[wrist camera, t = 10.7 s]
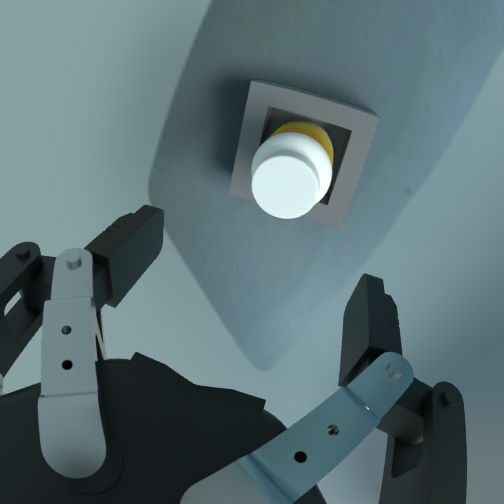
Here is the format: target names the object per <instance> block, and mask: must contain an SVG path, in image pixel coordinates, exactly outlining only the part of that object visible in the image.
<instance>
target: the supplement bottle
mask: <svg viewBox="0 0 504 504" xmlns="http://www.w3.org/2000/svg"><path fill="white" fill-rule="evenodd" d="M332 165H333V145H332V141H331V138H330V136H329V135H328V133H327V132H326V131H325V130H324V128H322V127H321V126H320V125H318V124H317V123H315V122H313V121H310V120H306V119H295V120H291V121H288V122H286V123H284V124H282V125H281V126H280V127H279V128H278V129H277V130H276V131H275V132H274V133H273V134H272V135H271V136H270V137H269V138H268V139H267V140H266V141H265V142H264V143H263V144H262V145H261V146H260V147H259V149H258V150H257V152H256V154H255V156H254V158H253V162H252V168H251V173H252V182H251V188H252V193H253V196H254V198H255V200H256V202H257V203H258V205H259V206H260V207H261V208H262V209H263V210H264V211H266V212H267V213H269V214H271V215H273V216H275V217H279V218H285V219H289V218H296V217H299V216H302V215H304V214H305V213H307V212H308V211H309V210H310V209H311V208H312V207H313V206H314V204H316V203H317V202H319V201H320V200H321V199H322V198H323V197H324V195H325V194H326V192H327V190H328V188H329V186H330V182H331V177H332Z"/></svg>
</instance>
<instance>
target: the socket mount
mask: <svg viewBox="0 0 504 504" xmlns="http://www.w3.org/2000/svg"><path fill="white" fill-rule="evenodd" d="M295 119H306V120H310V121H313V122H315V123H317V124H318V125H320V126H321V127H322V128H324V130H325V131H326V132H327V133H328V135H329V136H330V138H331V141H332V145H333V165H332V177H331V182H330V186H329V188H328V190H327V192H326V194H325V195H324V197H323V198H322V199H321V200H320V201H319V202H317V203H316V204H314V206H313V207H312V208H311V209H310V210H309V211H308V212H307V213H305V214H304V215H302V217H305V218H308V219H311V220H314V221H317V222H320V223H324V224H327V225H330V226H333V227H336V228H339V229H340V228H341V226H342V223H343V221H344V218H345V216H346V213H347V210H348V208H349V205H350V203H351V200H352V197H353V194H354V192H355V189H356V186H357V184H358V181H359V178H360V175H361V173H362V170H363V167H364V164H365V161H366V158H367V155H368V153H369V150H370V147H371V144H372V141H373V138H374V135H375V132H376V129H377V126H378V122H379V119H380V117H379V116H378V115H377V114H376V113H375V112H372V111H370V110H367V109H364V108H361V107H358V106H355V105H352V104H349V103H346V102H343V101H340V100H337V99H334V98H331V97H327V96H324V95H320V94H317V93H313V92H310V91H306V90H303V89H299V88H295V87H291V86H287V85H283V84H279V83H274V82H270V81H266V80H254V81H251V84H250V88H249V93H248V98H247V103H246V107H245V112H244V117H243V122H242V127H241V132H240V137H239V142H238V147H237V153H236V158H235V163H234V168H233V174H232V179H231V184H230V190H229V195H232V196H236V197H239V198H242V199H246V200H249V201H253V202H256V200H255V198H254V196H253V193H252V188H251V182H252V173H251V168H252V162H253V158H254V156H255V154H256V152H257V150H258V149H259V147H260V146H261V145H262V144H263V143H264V142H265V141H266V140H267V139H268V138H269V137H270V136H271V135H272V134H273V133H274V132H275V131H276V130H277V129H278V128H279V127H280V126H281V125H282V124H284V123H286V122H288V121H291V120H295ZM256 203H257V202H256Z"/></svg>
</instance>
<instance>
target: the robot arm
mask: <svg viewBox="0 0 504 504" xmlns="http://www.w3.org/2000/svg"><path fill="white" fill-rule="evenodd" d="M163 226H164V211H163V210H162V209H159V208H156V207H153V206H149V205H144V206H142V207H141V208H140V209H139V210H138V211H136V212H135V213H134V214H133V213H129V214H127V215H124V216H122V217H119V218H118V219H117V220H116V221H115V222H114V223H112V225H111V226H109V227H108V228H106V230H105V231H103V232H102V233H101V234H100V235H98V236H97V237H96V238H95V239H94V240H93V241H92V242H90V243H89V244H88V245H87V246H86V247H85V248H84V249H82V248H72V249H68V250H66V251H63V252H62V253H60V254H59V255H58V257H49V256H42V255H41V252H40V248H39V246H38V245H37V244H35V243H33V242H23V243H20V244H17V245H16V246H14V247H13V248H12V249H11V250H9V252H7V253H6V254H5V255H4V256H3V257H2V258H1V259H0V504H327V503H326V501H325V499H324V497H323V496H322V494H321V492H320V490H319V488H318V486H317V483H318V482H319V481H320V480H321V479H323V478H324V477H325V476H326V475H327V474H328V473H329V472H331V471H332V470H333V469H334V468H335V467H336V466H337V465H338V464H339V463H341V462H342V461H343V460H344V459H345V458H346V457H347V456H348V455H349V454H350V453H351V452H352V451H353V450H354V449H355V448H356V447H357V446H358V445H359V444H360V443H361V442H362V441H363V440H364V439H365V438H366V437H367V436H368V435H369V434H370V433H371V432H372V431H373V430H374V429H375V428H378V429H380V430H382V431H384V432H385V433H387V434H388V439H387V449H386V458H385V466H384V473H383V481H382V487H381V493H380V499H379V504H466V487H467V446H466V426H465V413H464V403H463V398H462V395H461V393H460V391H459V390H458V389H457V388H456V387H455V386H454V385H453V384H451V383H448V382H439V383H437V384H436V385H435V386H434V387H433V388H432V387H430V386H428V385H426V384H425V383H423V382H421V381H419V380H418V379H416V378H415V377H414V372H413V368H412V366H411V364H410V363H409V362H408V360H407V359H405V358H404V357H403V356H402V346H401V337H400V328H399V320H398V314H397V313H398V312H397V306H396V304H395V303H394V301H393V299H392V297H391V296H390V295H387V294H385V292H384V284H383V279H381V278H378V277H375V276H371V275H368V274H363V275H362V277H361V278H360V280H359V283H358V284H357V287H356V288H355V290H354V292H353V294H352V296H351V298H350V300H349V301H348V303H347V306H346V309H345V312H344V318H343V320H344V321H343V335H342V350H341V362H340V374H339V384H338V386H341V388H340V389H339V390H337V391H336V392H335V393H334V394H333V395H331V396H330V397H329V398H328V399H326V400H325V401H324V402H323V403H321V404H320V405H319V406H317V407H316V408H315V409H314V410H312V411H311V412H310V413H308V414H307V415H306V416H304V417H303V418H302V419H300V420H299V421H298V422H296V423H295V424H294V425H292V426H291V427H290V428H288V429H287V428H286V427H285V426H284V425H283V423H282V422H281V421H279V420H278V419H277V418H276V417H275V416H274V415H272V414H271V413H269V412H268V411H266V410H264V405H265V402H266V400H265V399H261V398H258V397H255V396H252V395H248V394H245V393H242V392H239V391H236V390H233V389H224V388H215V387H208V386H200V385H196V384H193V383H192V382H190V381H189V380H187V379H186V378H184V377H183V376H181V375H180V374H178V373H177V372H175V371H174V370H172V369H171V368H170V367H168V366H167V365H165V364H163V363H161V362H158V361H156V360H154V359H151V358H149V357H147V356H145V355H142V354H140V353H138V352H135V354H134V355H133V357H132V358H131V360H128V359H107V356H106V349H105V341H104V331H103V320H102V311H101V308H102V307H103V306H104V304H108V305H110V306H112V307H114V308H115V307H117V305H118V304H119V303H120V302H121V300H122V299H123V298H124V297H125V295H126V294H127V293H128V291H129V290H130V289H131V288H132V286H133V285H134V284H135V283H136V282H137V280H138V279H139V278H140V277H141V275H142V274H143V273H144V272H145V271H146V270H147V268H148V267H149V266H150V265H151V264H152V262H153V261H154V260H155V259H156V258H157V256H158V255H159V253H160V251H161V248H162V243H163ZM18 291H19V293H20V296H21V298H20V299H19V300H18V302H17V303H16V304H15V305H14V306H13V307H12V309H11V310H10V311H9V312H8V313H7V314H6V316H4V310H5V307H6V305H7V303H8V302H9V301H10V300H11V299H12V297H13V296H14V295H15V294H16V293H17V292H18ZM42 324H43V325H42ZM41 326H42V344H41V345H42V346H41V382H40V383H37V384H34V385H31V386H28V387H25V388H23V389H20V390H17V391H14V392H11V393H8V394H5V395H3V392H2V389H3V378H4V377H5V375H6V373H7V372H8V371H9V369H10V368H11V366H12V365H13V363H14V362H15V360H16V359H17V358H18V356H19V355H20V353H21V352H22V351H23V349H24V348H25V347H26V345H27V344H28V343H29V341H30V340H31V339H32V337H33V336H34V335H35V333H36V332H37V331H38V329H39V328H40V327H41Z"/></svg>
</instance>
